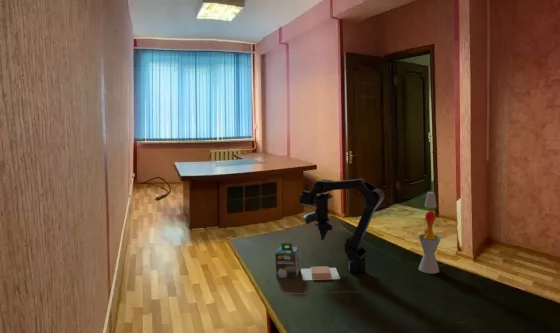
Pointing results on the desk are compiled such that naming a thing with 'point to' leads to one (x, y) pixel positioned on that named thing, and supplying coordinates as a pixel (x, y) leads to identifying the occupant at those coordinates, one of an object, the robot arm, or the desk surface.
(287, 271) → the chalk box
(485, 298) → the desk surface
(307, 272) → the board
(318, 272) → the block
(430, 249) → the lava lamp
